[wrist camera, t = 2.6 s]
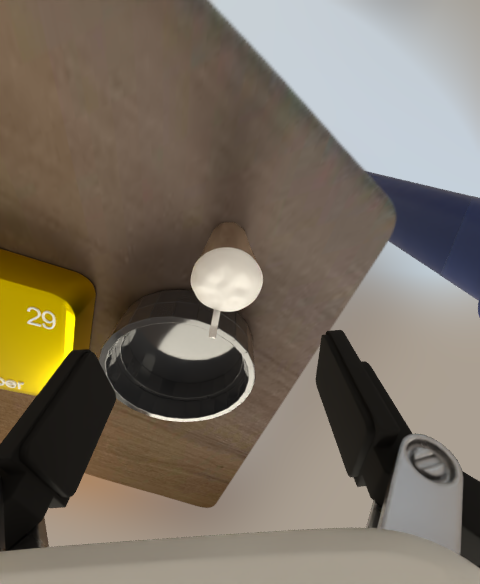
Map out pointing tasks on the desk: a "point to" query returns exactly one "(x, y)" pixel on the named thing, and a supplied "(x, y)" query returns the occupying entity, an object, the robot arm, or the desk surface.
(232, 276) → the milkshake
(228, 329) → the pan
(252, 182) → the desk surface
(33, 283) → the element tile
